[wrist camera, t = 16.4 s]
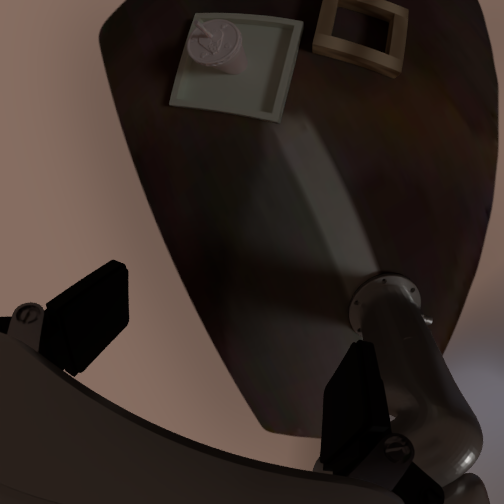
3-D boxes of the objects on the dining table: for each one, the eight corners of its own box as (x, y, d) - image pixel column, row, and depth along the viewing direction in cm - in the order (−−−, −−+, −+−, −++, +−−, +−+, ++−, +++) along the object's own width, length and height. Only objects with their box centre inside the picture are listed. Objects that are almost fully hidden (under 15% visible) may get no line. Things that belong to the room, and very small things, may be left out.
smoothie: (250, 39, 30) (219, -6, 17) (263, 75, 32) (236, 37, 19) (208, 54, 32) (162, 19, 19) (220, 89, 33) (175, 62, 21)
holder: (402, 18, 23) (408, 9, 20) (393, 78, 28) (401, 72, 25) (326, -6, 25) (326, -17, 22) (312, 52, 29) (312, 44, 26)
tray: (303, 28, 28) (303, 21, 26) (279, 124, 34) (277, 122, 32) (201, 19, 30) (195, 13, 27) (176, 106, 36) (168, 104, 34)
